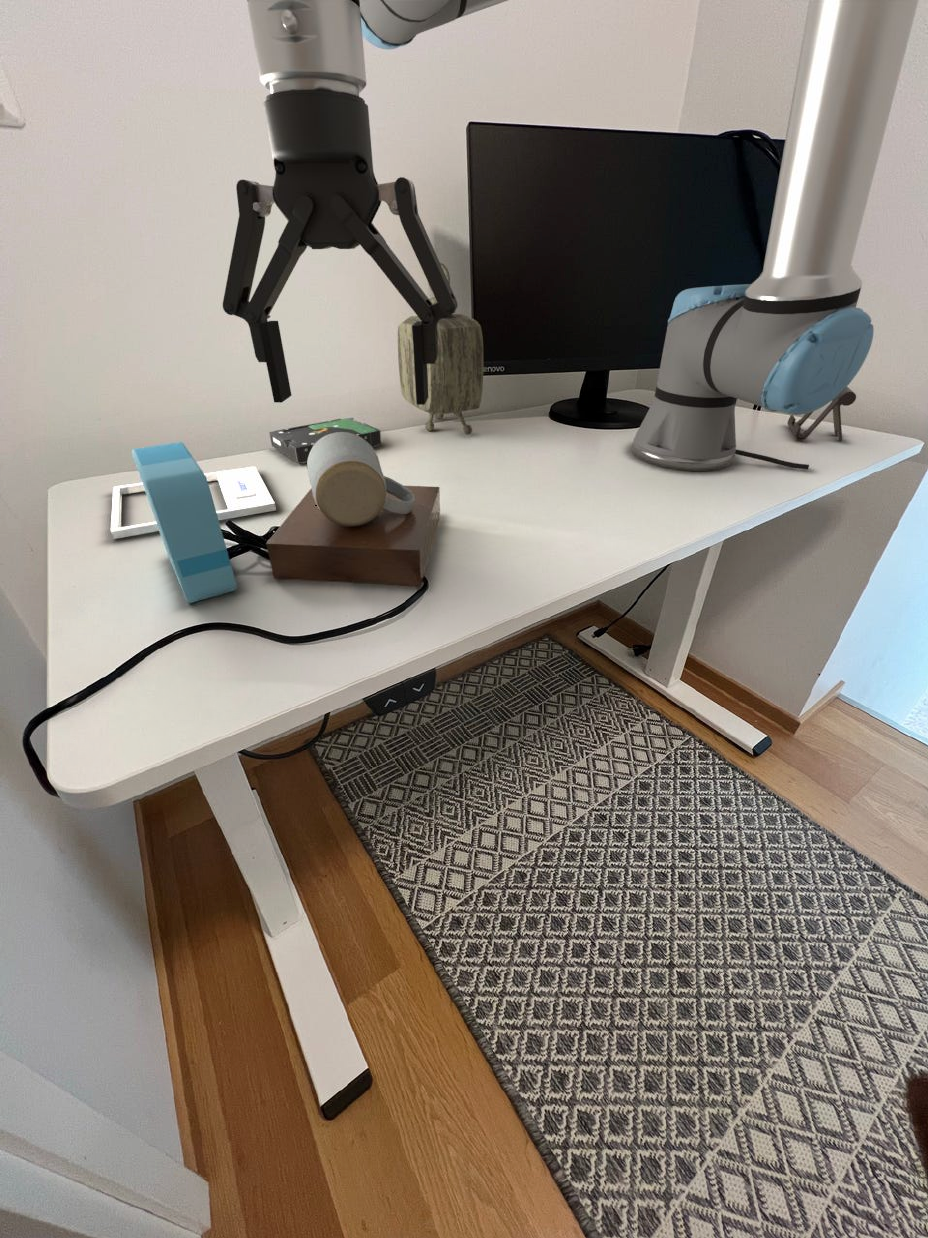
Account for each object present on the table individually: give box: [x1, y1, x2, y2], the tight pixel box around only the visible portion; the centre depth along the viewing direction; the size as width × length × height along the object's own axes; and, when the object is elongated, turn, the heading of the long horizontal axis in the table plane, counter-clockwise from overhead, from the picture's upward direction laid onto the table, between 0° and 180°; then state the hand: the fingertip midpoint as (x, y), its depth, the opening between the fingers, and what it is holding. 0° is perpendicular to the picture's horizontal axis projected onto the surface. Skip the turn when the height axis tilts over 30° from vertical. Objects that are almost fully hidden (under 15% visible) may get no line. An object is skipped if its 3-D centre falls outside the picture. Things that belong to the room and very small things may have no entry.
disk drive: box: [268, 417, 382, 464], centre depth 88 cm, size 10×3×15 cm
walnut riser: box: [265, 485, 441, 587], centre depth 60 cm, size 15×16×4 cm
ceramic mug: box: [306, 432, 415, 527], centre depth 56 cm, size 11×8×8 cm
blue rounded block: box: [131, 441, 238, 604], centre depth 52 cm, size 12×4×12 cm, turn 33°
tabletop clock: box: [397, 262, 485, 435], centre depth 90 cm, size 14×9×25 cm, turn 30°
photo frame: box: [110, 466, 277, 540], centre depth 70 cm, size 15×1×18 cm
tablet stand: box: [786, 386, 857, 442], centre depth 93 cm, size 9×8×8 cm
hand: (352, 400), depth 52 cm, fingers open, 13 cm apart
